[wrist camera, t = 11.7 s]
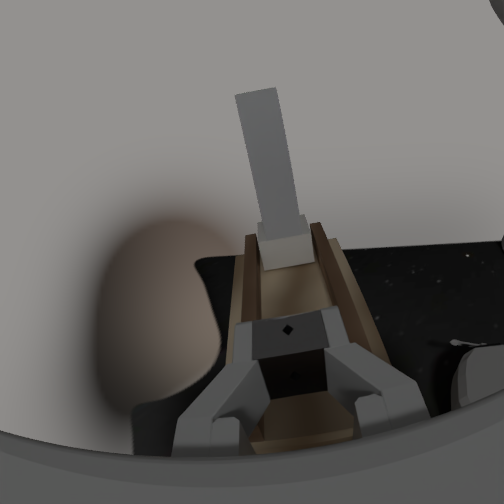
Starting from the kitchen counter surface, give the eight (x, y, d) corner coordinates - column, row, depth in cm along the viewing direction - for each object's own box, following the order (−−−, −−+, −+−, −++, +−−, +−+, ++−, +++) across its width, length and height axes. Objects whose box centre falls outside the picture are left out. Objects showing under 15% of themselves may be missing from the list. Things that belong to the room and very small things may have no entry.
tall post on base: (308, 240, 31) (281, 86, 24) (314, 262, 28) (285, 86, 21) (263, 248, 32) (229, 96, 25) (264, 270, 28) (225, 97, 21)
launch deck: (341, 308, 36) (334, 219, 30) (387, 471, 18) (415, 392, 13) (254, 323, 37) (231, 238, 31) (253, 492, 19) (207, 426, 14)
